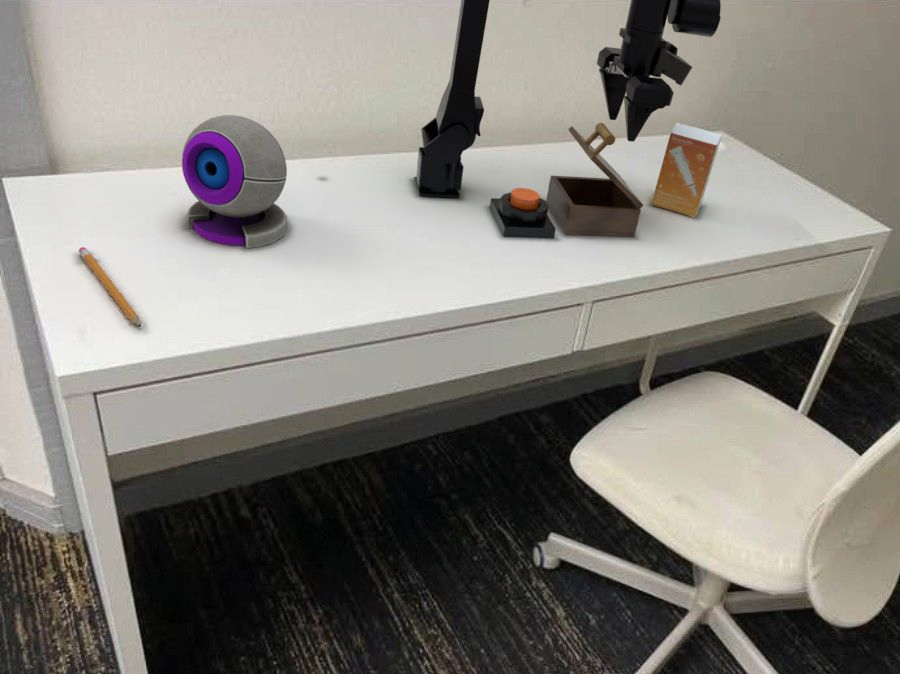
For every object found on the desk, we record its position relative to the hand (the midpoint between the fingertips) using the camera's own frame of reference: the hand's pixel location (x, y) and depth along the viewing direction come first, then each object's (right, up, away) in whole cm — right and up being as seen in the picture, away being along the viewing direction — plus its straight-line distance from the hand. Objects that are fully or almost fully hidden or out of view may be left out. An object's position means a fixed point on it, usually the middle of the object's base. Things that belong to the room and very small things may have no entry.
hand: (621, 130), depth 136 cm
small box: (+11, -9, +13) cm, 19 cm away
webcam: (-55, -19, -19) cm, 61 cm away
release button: (-15, -13, -5) cm, 21 cm away
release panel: (-16, -16, -3) cm, 23 cm away
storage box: (-5, -14, +2) cm, 15 cm away
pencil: (-63, -31, -36) cm, 79 cm away
